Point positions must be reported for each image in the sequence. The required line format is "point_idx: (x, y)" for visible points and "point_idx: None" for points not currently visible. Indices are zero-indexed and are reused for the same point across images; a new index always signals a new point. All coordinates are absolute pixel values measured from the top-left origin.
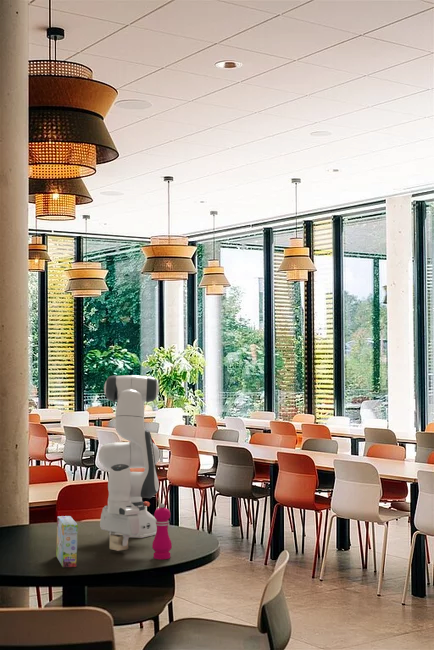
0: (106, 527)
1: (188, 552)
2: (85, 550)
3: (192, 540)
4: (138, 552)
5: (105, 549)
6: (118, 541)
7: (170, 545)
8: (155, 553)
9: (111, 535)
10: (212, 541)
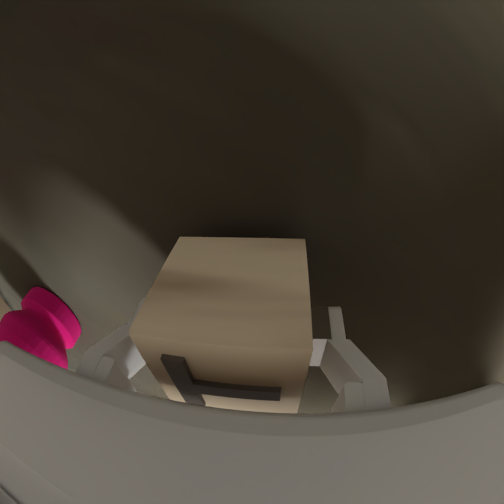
0: (428, 438)
1: None
2: (501, 165)
3: None
4: None
5: (419, 276)
6: (151, 303)
7: None
8: (33, 305)
9: (297, 362)
10: None
